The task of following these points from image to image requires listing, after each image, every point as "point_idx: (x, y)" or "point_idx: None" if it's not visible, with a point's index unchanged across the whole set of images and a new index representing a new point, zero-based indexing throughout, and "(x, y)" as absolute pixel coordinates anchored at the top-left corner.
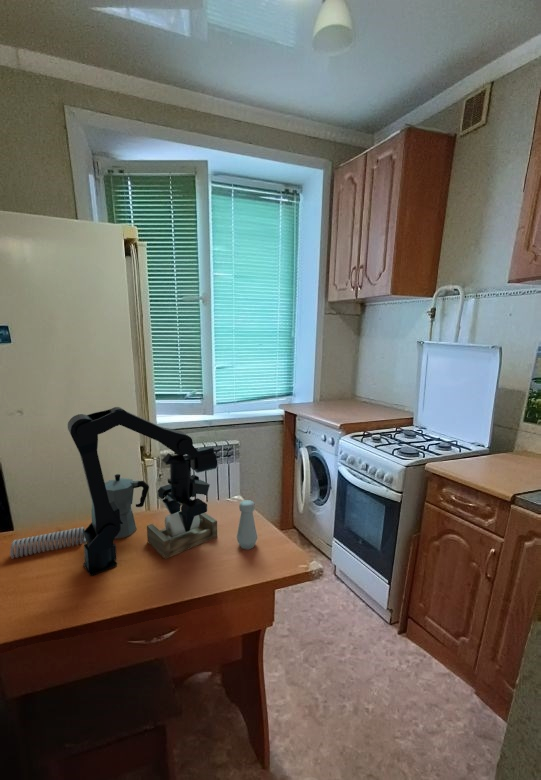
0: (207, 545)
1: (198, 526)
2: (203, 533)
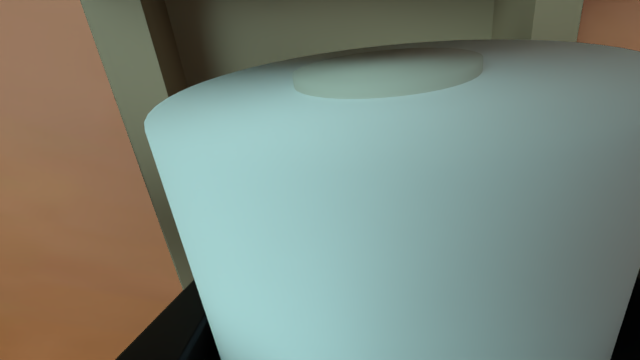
0: (604, 18)
1: (477, 41)
2: (571, 17)
